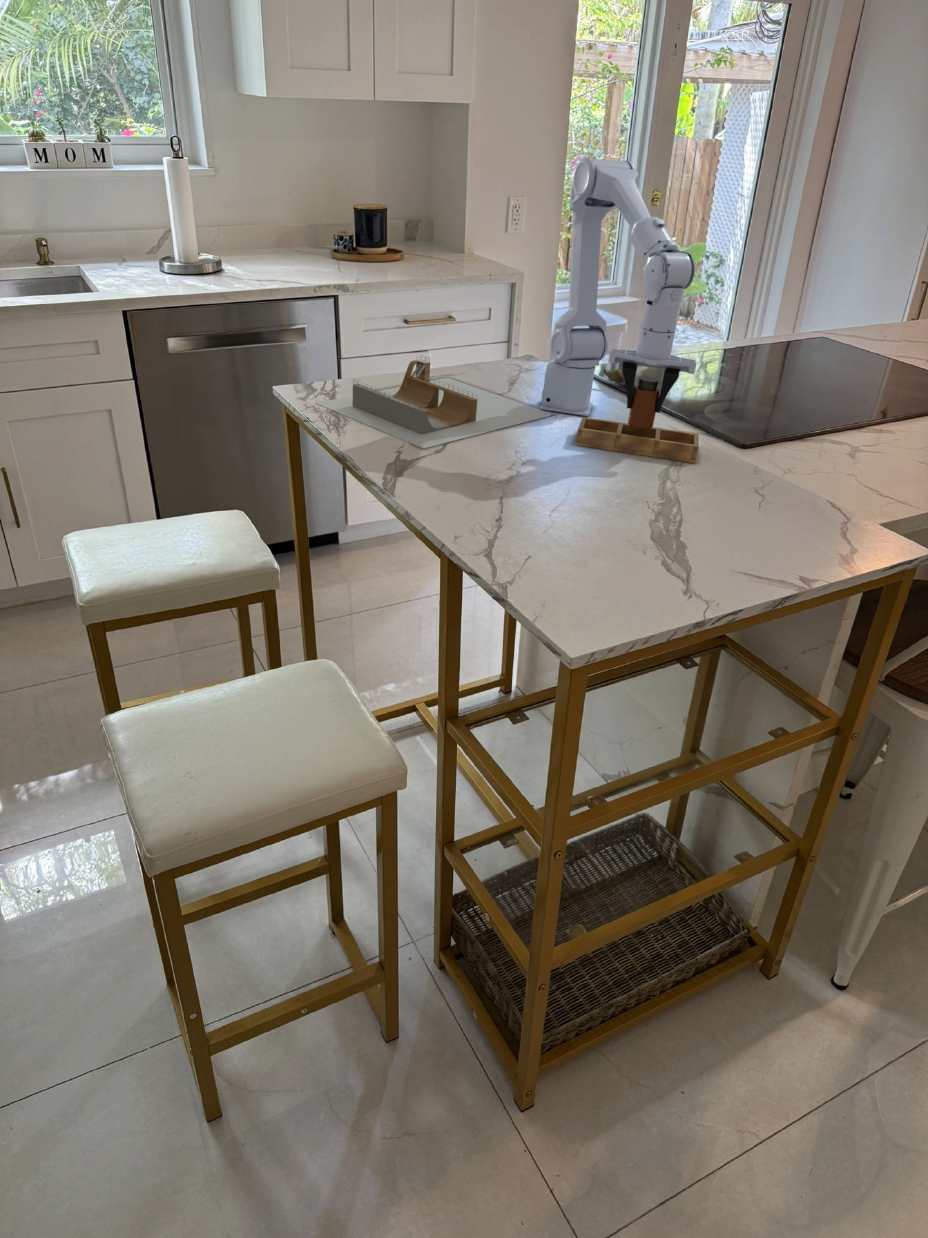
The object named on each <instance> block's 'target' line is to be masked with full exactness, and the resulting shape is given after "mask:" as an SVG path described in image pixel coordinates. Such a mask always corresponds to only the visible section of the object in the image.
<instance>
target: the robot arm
mask: <svg viewBox="0 0 928 1238" xmlns="http://www.w3.org/2000/svg"><path fill="white" fill-rule="evenodd" d="M570 178H571V182H570V205H569V206H570V207H569V208H570V210H571V211H572V229H571V250H570V269H569V272H570V273H569V291H568V292H569V294H568V295H569V296H568V310H566V312H565V313H564V314H562V315H561V316H560V317H559V318H557V319H556V320H555V321H554V329H553V334H552V337H551V339H550V351H551V354H552V356H553V358H554V360H551V359H550V360H548V361H547V363H546V368H545V373H544V380H543V388H542V392H541V403H540V404H541V405H540V410H542V411H549V412H556V413H563V414H570V415H577V416H582V417H589V416H590V413H591V410H592V408H593V403H592V402H591V396H592V390H593V382H594V379H595V378H594V376H595V371H596V367H597V366H599V365H600V362H601V361H602V360H603V359H604V358H605V357H606V355H607V352H608V349H609V337H608V333H607V320H606V319H605V318H604V317H603V316H602V315H601V314H600V313H599V312H598V309H597V308H598V307H597V306H598V292H599V291H598V290H599V275H600V274H599V273H600V256H601V255H600V254H601V239H602V221H603V219H604V218H605V217H606V216H607V214H609V213H610V212H613V211H614V210H616V209H617V210H618V211H619V213H620V214H621V215H622V217H623V219H624V220H625V221H626V223H627V224H628V226H629V227H630V229H631V231H630V236H629V240H630V243H631V244H632V246H633V248H634V250H635V252H636V254H637V255H638V257H639V259H640V261H641V262H642V265H643V269H642V279H643V285H644V288H643V298H644V299H645V302H644V307H643V313H642V319H641V324H640V329H639V335H638V342H637V348H636V350H630V349H615V348H610V350H609V353H608V354H609V355H608V360H607V361H608V362H607V363H608V364H609V363H610V364H615V363H617V364H622V365H623V366H621V367H622V373H623V377H624V380H625V384H624V385H625V390H626V409H629V410H630V409H631V404H632V398H633V392H634V382H635V377H636V371H637V366H645V367H652V368H660V369H665V370H664V376H663V381H662V386H661V391H660V393H659V398H658V403H657V407H656V413H659V414H660V413H661V409H662V407H663V403H664V402H665V400H666V398H667V396H668V394H669V393H670V391H671V389H672V388H673V386H674V385H675V383H677V381H678V379H679V377H680V373H681V372H682V373H687V374H689V375H694V374H695V371H696V366H697V360H696V359H690V358H685V357H681V356H675V355H672V350H673V344H674V340H675V334H676V330H677V325H678V319H679V316H680V315H679V314H680V311H681V310H680V309H681V304H682V300H683V295H684V290H686V289H688V288H689V287H690V286H691V284H692V283H693V281H694V278H695V274H696V263H695V260H694V258H693V254H692V253H691V252H690V251H686V250H682V249H681V248H678V246H677V244H676V242H675V241H674V239H673V238H672V235H670V232H669V230H668V229H667V228H666V226H665V225H666V223H665V221H664V219H663V218H659V217H657V216H651V214H650V212H649V210H648V208H647V205H646V203H645V201H644V199H643V197H642V194H641V192H640V190H639V188H638V182H639V172H638V171H637V170H636V168H635V165H634V164H633V162H632V161H630V160H612V159H597V158H590V157H583V158H581V159H580V160H579V162H578V163H577V164H576V166H575V167H574V170H573V171H572V173H571V177H570ZM576 327H578V328H576Z"/></svg>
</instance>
